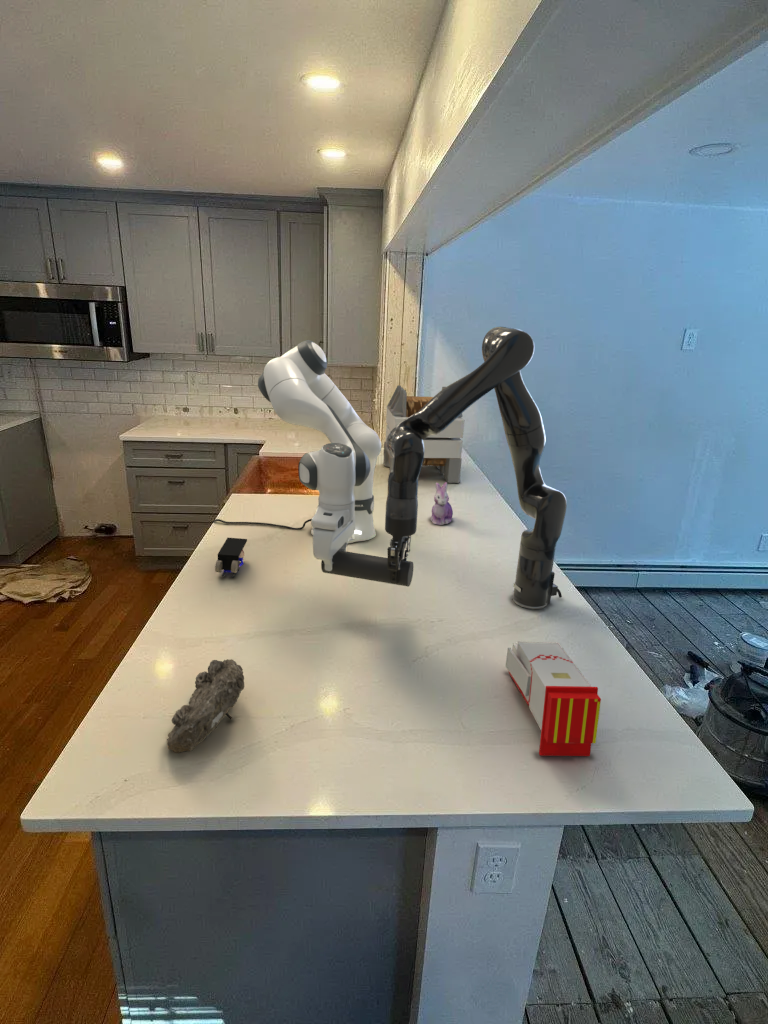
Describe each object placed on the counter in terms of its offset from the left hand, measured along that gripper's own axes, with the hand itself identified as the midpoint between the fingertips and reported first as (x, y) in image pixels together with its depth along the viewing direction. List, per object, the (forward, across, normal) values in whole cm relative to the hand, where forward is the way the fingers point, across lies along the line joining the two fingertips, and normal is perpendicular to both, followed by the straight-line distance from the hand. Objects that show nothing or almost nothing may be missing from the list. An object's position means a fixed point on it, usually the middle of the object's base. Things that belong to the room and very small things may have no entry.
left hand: (335, 562), depth 143 cm
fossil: (+14, +46, -8) cm, 48 cm away
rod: (+3, 0, +8) cm, 9 cm away
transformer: (+14, -138, -9) cm, 139 cm away
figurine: (+14, -76, +14) cm, 79 cm away
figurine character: (+14, -12, -37) cm, 41 cm away
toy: (+14, +21, +53) cm, 59 cm away
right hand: (+1, 0, +16) cm, 16 cm away
